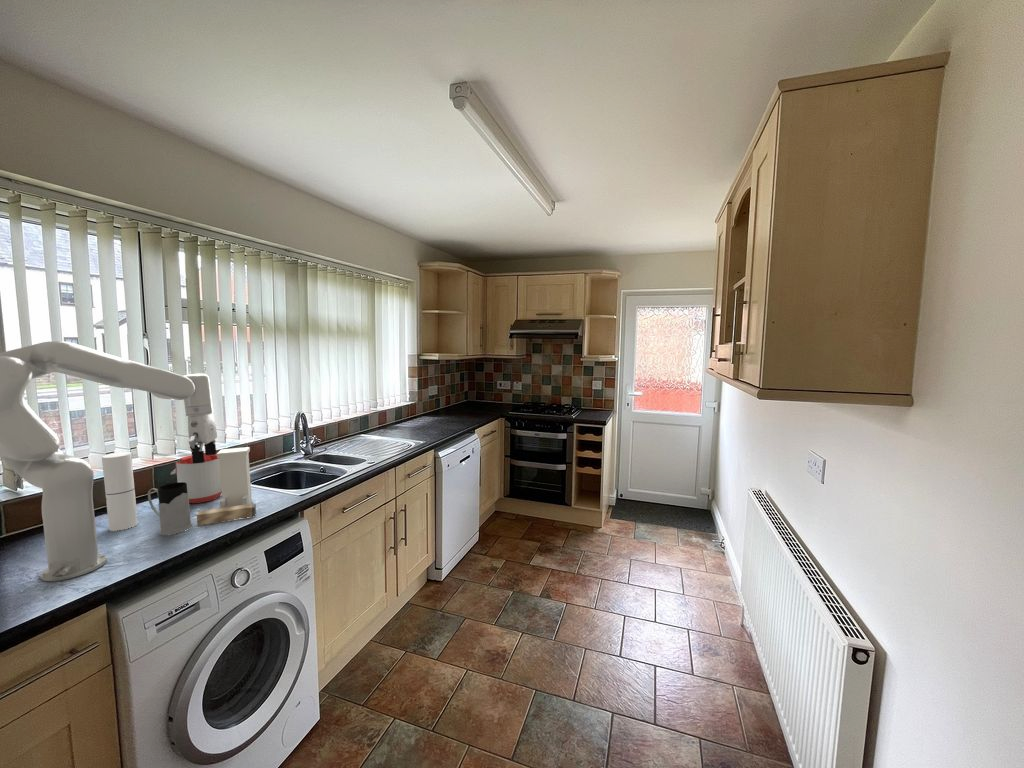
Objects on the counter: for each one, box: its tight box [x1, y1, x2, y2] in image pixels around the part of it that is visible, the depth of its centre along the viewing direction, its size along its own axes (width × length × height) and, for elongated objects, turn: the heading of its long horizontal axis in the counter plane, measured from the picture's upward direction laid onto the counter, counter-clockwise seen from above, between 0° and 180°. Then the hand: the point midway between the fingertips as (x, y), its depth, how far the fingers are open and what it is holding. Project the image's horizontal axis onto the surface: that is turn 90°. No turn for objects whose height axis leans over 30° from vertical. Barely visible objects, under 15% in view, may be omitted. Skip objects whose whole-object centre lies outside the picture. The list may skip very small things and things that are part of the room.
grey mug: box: [147, 482, 194, 536], centre depth 139 cm, size 9×14×15 cm, turn 80°
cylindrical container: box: [101, 451, 138, 532], centre depth 140 cm, size 7×7×25 cm
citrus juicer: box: [170, 452, 222, 504], centre depth 166 cm, size 16×17×20 cm
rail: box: [196, 503, 257, 526], centre depth 147 cm, size 17×4×4 cm, turn 114°
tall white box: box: [216, 446, 253, 508], centre depth 157 cm, size 10×9×22 cm
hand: (205, 458), depth 144 cm, fingers open, 9 cm apart
